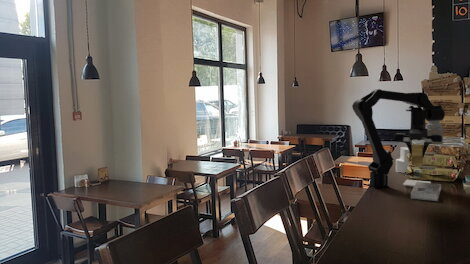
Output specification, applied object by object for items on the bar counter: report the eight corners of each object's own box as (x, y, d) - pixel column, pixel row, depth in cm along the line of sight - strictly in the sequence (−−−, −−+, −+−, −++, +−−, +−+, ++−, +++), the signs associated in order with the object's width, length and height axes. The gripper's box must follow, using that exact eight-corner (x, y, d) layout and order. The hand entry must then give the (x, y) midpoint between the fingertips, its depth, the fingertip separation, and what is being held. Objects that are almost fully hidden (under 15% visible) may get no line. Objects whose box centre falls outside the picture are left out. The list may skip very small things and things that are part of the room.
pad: (428, 188, 156) (428, 186, 155) (403, 185, 161) (403, 184, 161) (430, 182, 164) (430, 181, 164) (406, 180, 169) (406, 179, 169)
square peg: (421, 166, 159) (422, 145, 158) (411, 165, 161) (411, 145, 160) (422, 164, 162) (423, 144, 161) (412, 163, 164) (413, 143, 163)
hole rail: (437, 201, 137) (437, 194, 137) (410, 198, 142) (410, 191, 141) (440, 190, 152) (440, 184, 152) (416, 187, 157) (416, 181, 156)
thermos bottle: (421, 172, 185) (422, 117, 183) (437, 172, 184) (439, 116, 182) (427, 176, 177) (429, 118, 175) (445, 175, 177) (446, 117, 174)
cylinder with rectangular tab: (417, 173, 184) (417, 149, 182) (397, 173, 185) (398, 149, 184) (412, 169, 192) (412, 147, 191) (393, 169, 194) (394, 147, 193)
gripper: (391, 122, 158) (391, 158, 159) (441, 123, 148) (440, 161, 149) (396, 120, 167) (395, 154, 169) (443, 121, 157) (442, 157, 159)
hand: (417, 157), depth 161 cm, fingers closed on square peg, 4 cm apart
